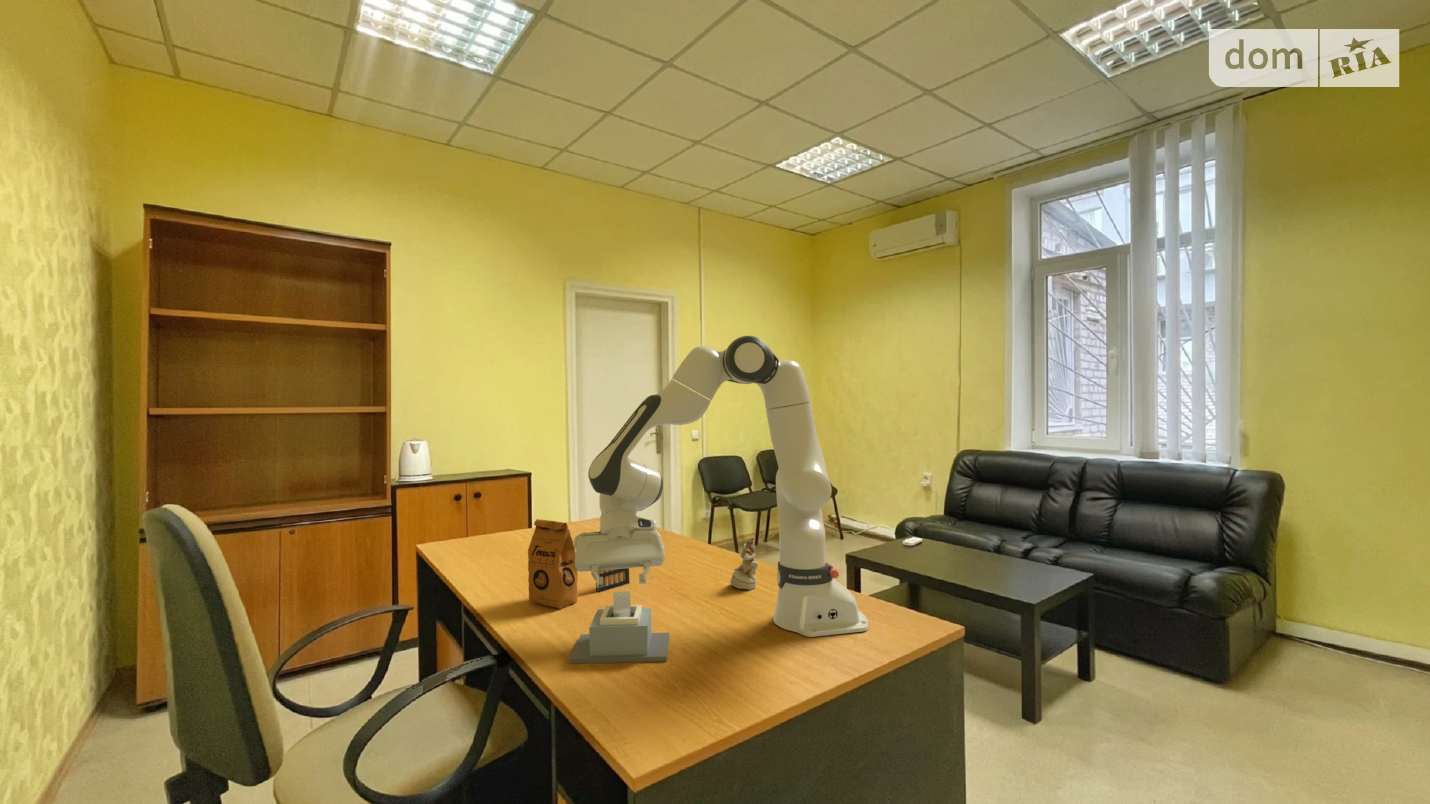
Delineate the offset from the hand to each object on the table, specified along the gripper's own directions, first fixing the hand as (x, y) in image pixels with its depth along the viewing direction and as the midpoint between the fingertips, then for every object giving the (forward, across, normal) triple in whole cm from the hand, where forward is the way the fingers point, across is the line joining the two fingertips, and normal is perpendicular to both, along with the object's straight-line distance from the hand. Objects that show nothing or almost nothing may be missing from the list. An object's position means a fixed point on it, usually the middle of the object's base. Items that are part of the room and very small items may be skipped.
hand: (621, 584), depth 126 cm
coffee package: (-12, -17, +31) cm, 37 cm away
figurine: (-12, +36, +32) cm, 50 cm away
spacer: (+6, 0, +2) cm, 7 cm away
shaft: (+10, 0, +7) cm, 12 cm away
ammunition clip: (-18, -1, +37) cm, 42 cm away
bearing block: (+11, 0, +7) cm, 14 cm away
